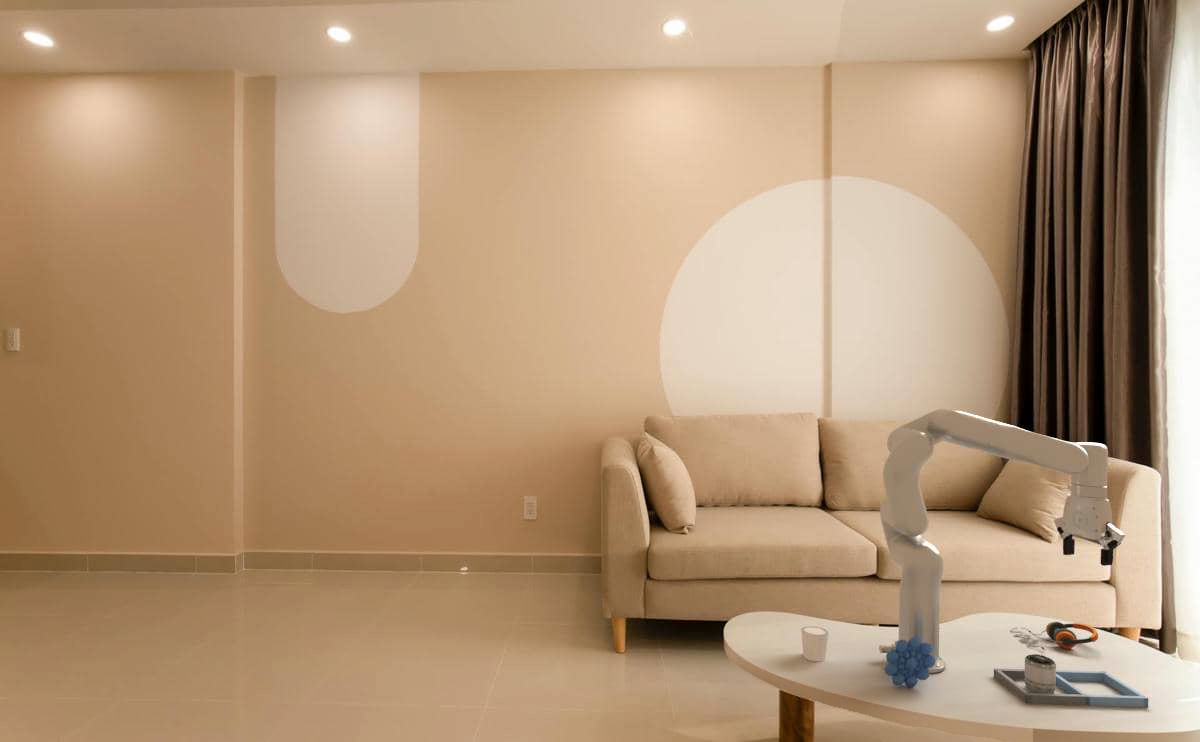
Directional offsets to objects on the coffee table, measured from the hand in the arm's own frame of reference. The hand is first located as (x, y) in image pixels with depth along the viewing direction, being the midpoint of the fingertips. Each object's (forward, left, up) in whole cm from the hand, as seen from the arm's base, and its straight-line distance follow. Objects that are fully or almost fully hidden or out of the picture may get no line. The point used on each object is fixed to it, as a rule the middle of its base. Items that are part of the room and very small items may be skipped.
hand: (1087, 559), depth 175 cm
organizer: (-11, -11, -28) cm, 33 cm away
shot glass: (-66, +5, -29) cm, 72 cm away
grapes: (-48, -10, -29) cm, 57 cm away
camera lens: (-18, -11, -29) cm, 36 cm away
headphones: (+4, +19, -29) cm, 35 cm away
